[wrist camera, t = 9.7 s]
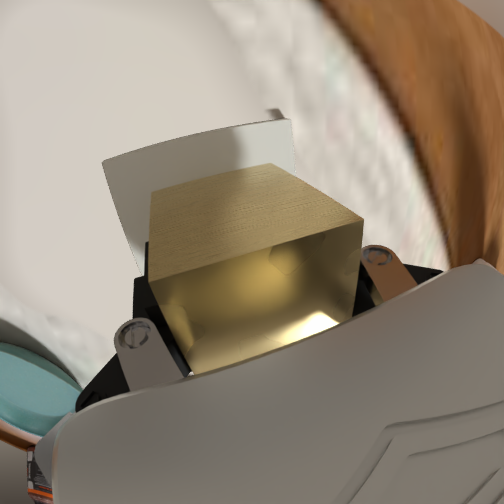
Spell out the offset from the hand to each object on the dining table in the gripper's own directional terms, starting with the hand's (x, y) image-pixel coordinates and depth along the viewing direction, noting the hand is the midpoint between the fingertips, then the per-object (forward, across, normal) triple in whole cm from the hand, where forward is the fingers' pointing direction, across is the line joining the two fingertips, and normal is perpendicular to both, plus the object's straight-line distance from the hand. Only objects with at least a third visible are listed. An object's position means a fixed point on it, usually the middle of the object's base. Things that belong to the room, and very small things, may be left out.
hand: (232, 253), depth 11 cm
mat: (+4, 0, 0) cm, 4 cm away
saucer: (+4, +20, +10) cm, 23 cm away
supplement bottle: (+4, +34, +26) cm, 43 cm away
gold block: (+1, 0, 0) cm, 1 cm away
